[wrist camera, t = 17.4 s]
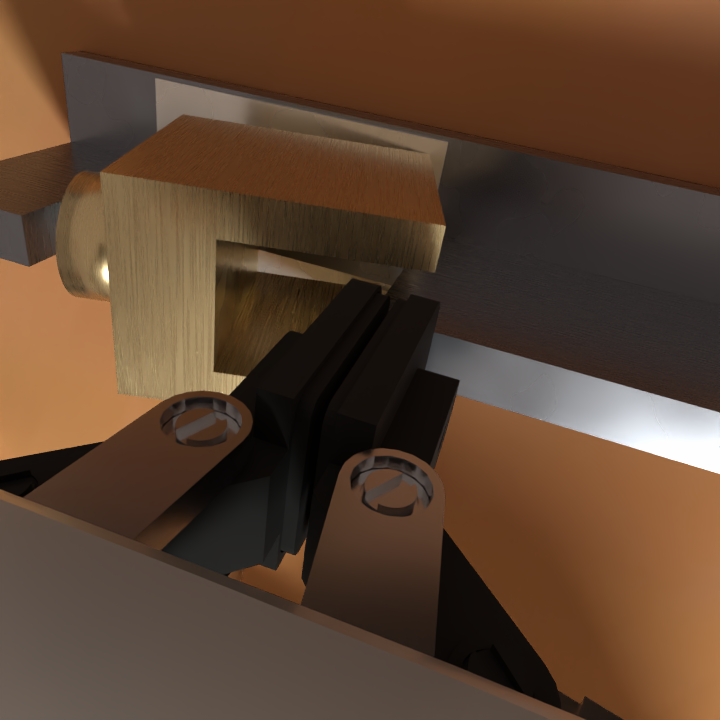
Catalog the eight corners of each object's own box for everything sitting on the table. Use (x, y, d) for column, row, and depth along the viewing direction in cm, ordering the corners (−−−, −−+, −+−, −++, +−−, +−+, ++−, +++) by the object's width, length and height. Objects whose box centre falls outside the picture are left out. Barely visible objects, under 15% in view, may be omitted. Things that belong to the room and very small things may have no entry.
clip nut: (397, 432, 13) (45, 383, 13) (395, 321, 17) (130, 281, 17) (445, 226, 11) (10, 158, 10) (429, 154, 15) (119, 104, 15)
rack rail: (802, 448, 16) (895, 637, 11) (99, 247, 21) (-55, 322, 16) (948, 238, 13) (1163, 375, 8) (81, 50, 17) (-121, 68, 12)
